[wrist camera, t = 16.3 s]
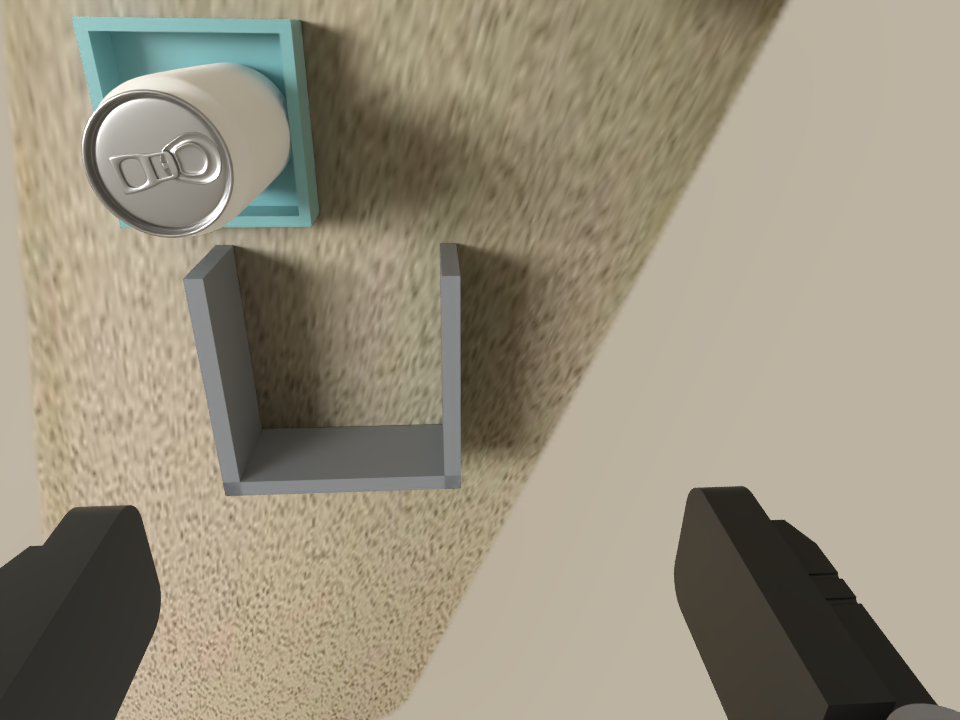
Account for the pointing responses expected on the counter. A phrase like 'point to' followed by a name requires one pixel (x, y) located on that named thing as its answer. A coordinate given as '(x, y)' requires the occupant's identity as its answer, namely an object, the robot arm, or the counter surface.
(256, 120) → the can
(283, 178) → the tray
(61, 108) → the counter surface
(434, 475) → the bay
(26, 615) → the robot arm
